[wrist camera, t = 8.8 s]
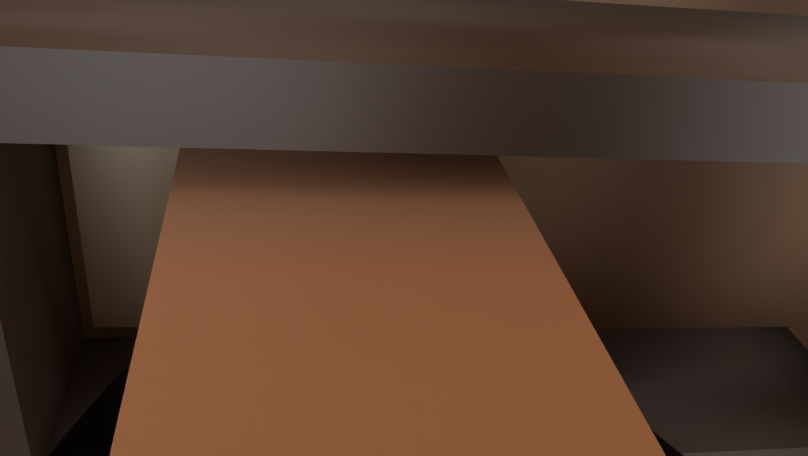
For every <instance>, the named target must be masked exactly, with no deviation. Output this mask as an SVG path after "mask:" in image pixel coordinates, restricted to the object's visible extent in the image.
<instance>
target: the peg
mask: <svg viewBox="0 0 808 456" xmlns="http://www.w3.org/2000/svg"><path fill="white" fill-rule="evenodd" d="M110 456H666V455H665V453H664V452H663V450H662V448H661V446H660V444H659V443H658V441H657V439H656V437H655V436H654V434H653V432H652V430H651V428H650V427H649V425H648V423H647V421H646V420H645V418H644V416H643V414H642V412H641V411H640V409H639V407H638V405H637V404H636V402H635V400H634V398H633V396H632V395H631V393H630V391H629V389H628V388H627V386H626V384H625V382H624V380H623V379H622V377H621V375H620V373H619V372H618V370H617V368H616V366H615V364H614V363H613V361H612V359H611V357H610V356H609V354H608V352H607V350H606V348H605V347H604V345H603V343H602V341H601V340H600V338H599V336H598V334H597V332H596V331H595V329H594V327H593V325H592V324H591V322H590V320H589V318H588V316H587V315H586V313H585V311H584V309H583V308H582V306H581V304H580V302H579V300H578V299H577V297H576V295H575V293H574V292H573V290H572V288H571V286H570V284H569V283H568V281H567V279H566V277H565V276H564V274H563V272H562V270H561V268H560V267H559V265H558V263H557V261H556V260H555V258H554V256H553V254H552V252H551V251H550V249H549V247H548V245H547V244H546V242H545V240H544V238H543V236H542V235H541V233H540V231H539V229H538V228H537V226H536V224H535V222H534V220H533V219H532V217H531V215H530V213H529V212H528V210H527V208H526V206H525V204H524V203H523V201H522V199H521V197H520V196H519V194H518V192H517V190H516V188H515V187H514V185H513V183H512V181H511V179H510V178H509V176H508V174H507V172H506V171H505V169H504V167H503V165H502V163H501V162H500V160H499V158H498V156H492V155H452V154H413V153H374V152H334V151H295V150H256V149H216V148H180V149H179V154H178V158H177V162H176V167H175V171H174V176H173V180H172V184H171V189H170V193H169V197H168V202H167V206H166V211H165V215H164V219H163V224H162V228H161V232H160V237H159V241H158V246H157V250H156V254H155V259H154V263H153V267H152V272H151V276H150V281H149V285H148V289H147V294H146V298H145V302H144V307H143V311H142V316H141V320H140V324H139V329H138V333H137V338H136V342H135V346H134V351H133V355H132V359H131V364H130V368H129V373H128V377H127V381H126V386H125V390H124V394H123V399H122V403H121V408H120V412H119V416H118V421H117V425H116V429H115V434H114V438H113V443H112V447H111V451H110Z"/></svg>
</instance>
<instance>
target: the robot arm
mask: <svg viewBox="0 0 808 456" xmlns="http://www.w3.org/2000/svg"><path fill="white" fill-rule="evenodd" d="M129 368H130V364H129V365H127V366H126V367H125V368H123V370H122V371H121V372H120V373H119V374H118V375H117V376H116V377H115V379H114V380H113V381H112V382H111V383H110V384H109V385H108V386H107V387H106V389H105V390H104V391H103V392H102V393H101V394H100V395H99V396H98V398H97V399H96V400H95V401H94V402H93V403H92V404H91V405H90V406H89V408H88V409H87V410H86V411H85V412H84V413H83V414H82V415H81V417H80V418H79V419H78V420H77V421H76V422H75V423H74V424H73V425H72V427H71V428H70V429H69V430H68V431H67V432H66V433H65V434H64V436H63V437H62V438H61V439H60V440H59V441H58V442H57V443H56V444H55V446H54V447H53V448H52V449H51V450H50V451H49V452H48V453H47V455H46V456H110V451H111V447H112V443H113V438H114V434H115V429H116V425H117V421H118V416H119V412H120V408H121V403H122V399H123V394H124V390H125V386H126V381H127V377H128V373H129ZM651 430H652V429H651ZM652 432H653V434H654V436H655V437H656V439H657V441H658V443H659V444H660V446H661V448H662V450H663V452H664V453H665V455H666V456H684V455H683V454H681V453H680V452H679V451H678V450H677V449H675V448H674V447H673V446H672V445H670V444H669V443H668V442H667V441H665V440H664V439H663V438H662V437H660V436H659V435H658V434H657V433H656V432H654V431H653V430H652Z"/></svg>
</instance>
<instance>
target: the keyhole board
mask: <svg viewBox="0 0 808 456" xmlns="http://www.w3.org/2000/svg"><path fill="white" fill-rule="evenodd" d="M180 148H216V149H256V150H295V151H334V152H374V153H413V154H452V155H492V156H498V158H499V160H500V162H501V163H502V165H503V167H504V169H505V171H506V172H507V174H508V176H509V178H510V179H511V181H512V183H513V185H514V187H515V188H516V190H517V192H518V194H519V196H520V197H521V199H522V201H523V203H524V204H525V206H526V208H527V210H528V212H529V213H530V215H531V217H532V219H533V220H534V222H535V224H536V226H537V228H538V229H539V231H540V233H541V235H542V236H543V238H544V240H545V242H546V244H547V245H548V247H549V249H550V251H551V252H552V254H553V256H554V258H555V260H556V261H557V263H558V265H559V267H560V268H561V270H562V272H563V274H564V276H565V277H566V279H567V281H568V283H569V284H570V286H571V288H572V290H573V292H574V293H575V295H576V297H577V299H578V300H579V302H580V304H581V306H582V308H583V309H584V311H585V313H586V315H587V316H588V318H589V320H590V322H591V324H592V325H593V327H594V329H595V331H596V332H597V334H598V336H599V338H600V340H601V341H602V343H603V345H604V347H605V348H606V350H607V352H608V354H609V356H610V357H611V359H612V361H613V363H614V364H615V366H616V368H617V370H618V372H619V373H620V375H621V377H622V379H623V380H624V382H625V384H626V386H627V388H628V389H629V391H630V393H631V395H632V396H633V398H634V400H635V402H636V404H637V405H638V407H639V409H640V411H641V412H642V414H643V416H644V418H645V420H646V421H647V423H648V425H649V427H650V428H651V429H652V430H653V431H654V432H656V433H657V434H658V435H659V436H660V437H662V438H663V439H664V440H665V441H667V442H668V443H669V444H670V445H672V446H673V447H674V448H675V449H677V450H678V451H679V452H680V453H681V454H683V455H684V456H808V0H0V456H46V455H47V453H48V452H49V451H50V450H51V449H52V448H53V447H54V446H55V444H56V443H57V442H58V441H59V440H60V439H61V438H62V437H63V436H64V434H65V433H66V432H67V431H68V430H69V429H70V428H71V427H72V425H73V424H74V423H75V422H76V421H77V420H78V419H79V418H80V417H81V415H82V414H83V413H84V412H85V411H86V410H87V409H88V408H89V406H90V405H91V404H92V403H93V402H94V401H95V400H96V399H97V398H98V396H99V395H100V394H101V393H102V392H103V391H104V390H105V389H106V387H107V386H108V385H109V384H110V383H111V382H112V381H113V380H114V379H115V377H116V376H117V375H118V374H119V373H120V372H121V371H122V370H123V368H125V367H126V366H127V365H129V364H131V359H132V355H133V351H134V346H135V342H136V338H137V333H138V329H139V324H140V320H141V316H142V311H143V307H144V302H145V298H146V294H147V289H148V285H149V281H150V276H151V272H152V267H153V263H154V259H155V254H156V250H157V246H158V241H159V237H160V232H161V228H162V224H163V219H164V215H165V211H166V206H167V202H168V197H169V193H170V189H171V184H172V180H173V176H174V171H175V167H176V162H177V158H178V154H179V149H180Z"/></svg>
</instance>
